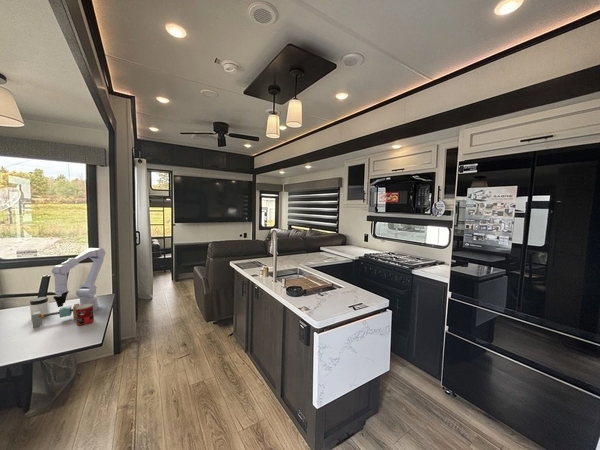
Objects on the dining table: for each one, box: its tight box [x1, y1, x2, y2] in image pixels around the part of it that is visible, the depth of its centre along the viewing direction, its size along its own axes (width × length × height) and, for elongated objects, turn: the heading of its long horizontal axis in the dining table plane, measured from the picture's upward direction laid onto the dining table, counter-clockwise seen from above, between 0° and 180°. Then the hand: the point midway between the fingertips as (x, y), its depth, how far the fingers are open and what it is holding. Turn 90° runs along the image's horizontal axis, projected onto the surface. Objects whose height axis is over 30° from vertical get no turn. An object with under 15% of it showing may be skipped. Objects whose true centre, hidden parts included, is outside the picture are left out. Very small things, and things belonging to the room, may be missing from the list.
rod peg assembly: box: [31, 302, 80, 329], centre depth 155 cm, size 21×8×8 cm, turn 127°
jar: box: [29, 296, 51, 320], centre depth 162 cm, size 9×8×12 cm
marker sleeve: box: [58, 305, 73, 319], centre depth 157 cm, size 5×5×5 cm
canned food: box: [76, 304, 95, 327], centre depth 153 cm, size 8×8×11 cm
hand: (61, 304), depth 155 cm, fingers open, 7 cm apart
